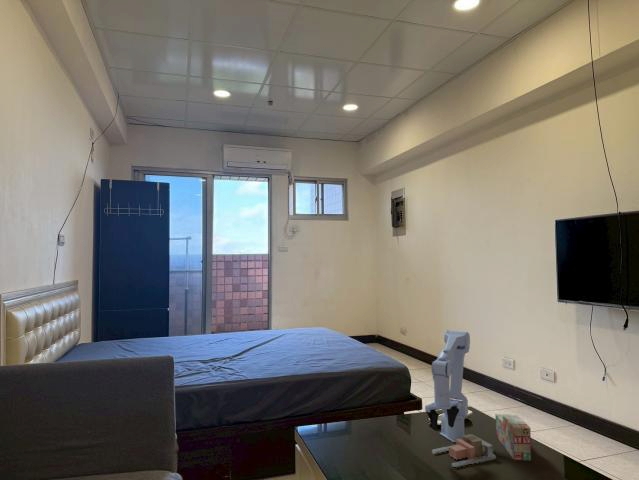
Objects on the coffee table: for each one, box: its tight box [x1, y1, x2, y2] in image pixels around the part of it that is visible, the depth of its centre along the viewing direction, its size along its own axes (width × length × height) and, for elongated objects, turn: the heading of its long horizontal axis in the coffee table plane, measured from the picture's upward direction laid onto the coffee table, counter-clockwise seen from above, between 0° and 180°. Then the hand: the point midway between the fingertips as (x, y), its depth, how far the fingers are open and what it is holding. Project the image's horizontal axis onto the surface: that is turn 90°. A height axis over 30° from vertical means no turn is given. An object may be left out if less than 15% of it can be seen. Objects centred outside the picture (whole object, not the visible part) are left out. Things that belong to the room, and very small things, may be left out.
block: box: [463, 433, 483, 457], centre depth 157 cm, size 6×4×6 cm, turn 21°
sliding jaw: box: [448, 439, 475, 461], centre depth 155 cm, size 8×7×4 cm
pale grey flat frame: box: [431, 433, 497, 468], centre depth 155 cm, size 13×19×4 cm
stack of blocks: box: [495, 413, 532, 462], centre depth 162 cm, size 21×6×12 cm, turn 173°
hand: (442, 428), depth 157 cm, fingers open, 7 cm apart
